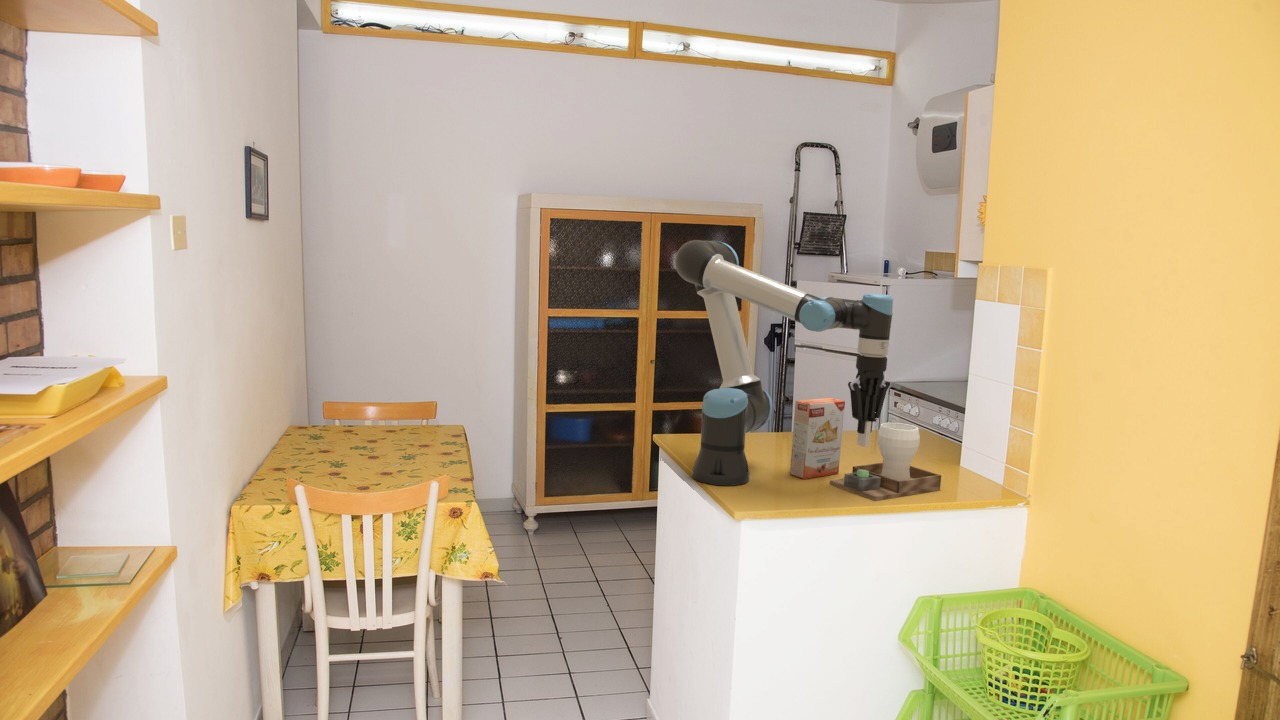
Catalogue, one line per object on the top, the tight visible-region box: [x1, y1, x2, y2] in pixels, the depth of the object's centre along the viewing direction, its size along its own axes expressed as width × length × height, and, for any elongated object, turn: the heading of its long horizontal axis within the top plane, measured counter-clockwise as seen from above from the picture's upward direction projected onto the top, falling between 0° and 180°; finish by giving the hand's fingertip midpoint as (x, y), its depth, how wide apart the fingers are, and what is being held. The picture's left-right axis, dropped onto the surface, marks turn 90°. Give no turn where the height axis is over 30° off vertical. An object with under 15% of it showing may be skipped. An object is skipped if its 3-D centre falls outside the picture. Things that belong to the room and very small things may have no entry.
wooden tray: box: [829, 462, 942, 502], centre depth 224 cm, size 24×16×4 cm, turn 121°
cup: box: [877, 422, 921, 481], centre depth 225 cm, size 11×11×15 cm
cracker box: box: [789, 397, 846, 480], centre depth 232 cm, size 14×6×21 cm, turn 125°
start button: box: [857, 469, 869, 478], centre depth 219 cm, size 3×3×4 cm
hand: (862, 445), depth 218 cm, fingers closed
